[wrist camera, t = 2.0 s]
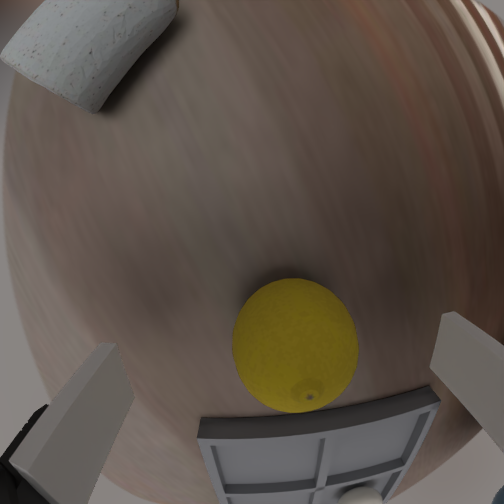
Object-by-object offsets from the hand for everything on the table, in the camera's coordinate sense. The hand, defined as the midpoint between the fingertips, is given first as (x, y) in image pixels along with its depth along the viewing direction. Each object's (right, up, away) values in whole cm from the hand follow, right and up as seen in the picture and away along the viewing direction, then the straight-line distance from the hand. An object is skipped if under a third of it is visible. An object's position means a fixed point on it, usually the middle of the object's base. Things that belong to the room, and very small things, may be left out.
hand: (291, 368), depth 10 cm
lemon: (0, +1, +7) cm, 7 cm away
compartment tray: (+5, -16, +10) cm, 20 cm away
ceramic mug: (-11, +18, +3) cm, 21 cm away
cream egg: (+9, -20, +10) cm, 25 cm away
